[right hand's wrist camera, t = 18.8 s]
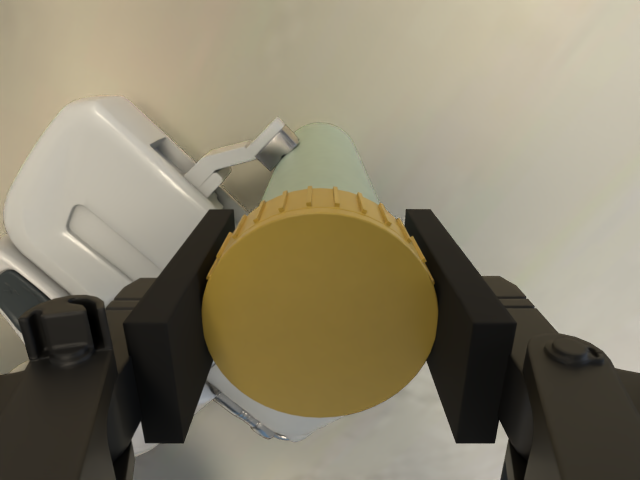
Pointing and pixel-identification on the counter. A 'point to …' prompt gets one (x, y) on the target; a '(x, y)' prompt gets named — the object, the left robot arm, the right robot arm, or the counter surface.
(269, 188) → the jar
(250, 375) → the lid
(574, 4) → the counter surface
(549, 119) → the counter surface
